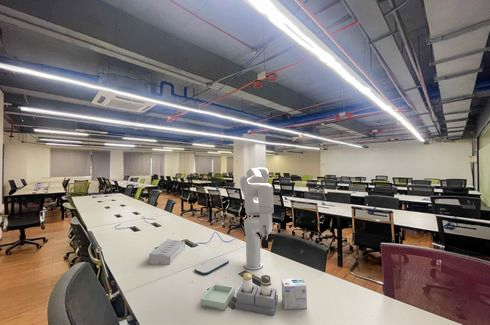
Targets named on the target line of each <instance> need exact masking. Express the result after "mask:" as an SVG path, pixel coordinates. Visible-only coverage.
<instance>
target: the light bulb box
mask: <svg viewBox="0 0 490 325" xmlns="http://www.w3.org/2000/svg"><path fill="white" fill-rule="evenodd" d="M280 281H281V298H282V299H281V301H282V306H283V308H284V310H297V309H298V310H299V309H300V310H301V309H308V302H307V301H308V299H307V298H308V297H307V296H308V295H307V291H308V290H307V284H306V282H305V281H304V279H303V278H300V277H299V278H281V279H280Z"/></svg>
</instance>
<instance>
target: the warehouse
mask: <svg viewBox="0 0 490 325" xmlns="http://www.w3.org/2000/svg"><path fill="white" fill-rule="evenodd" d="M185 248H186V242H185V241H182V240H176V239H175V240H174V239H170V238H169V239H166V240H165V241H164V242H163V243H162V244H160V245H159V246H157V247H156V248H155V249H154V250H153V251H151V252H150V253H149V265H170V266H171V264H172V263H173V262H174V261H175V260H176V258H178V256H179V255H180V254H181V253H182V252H183V251H184V250H185Z"/></svg>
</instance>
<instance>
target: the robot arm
mask: <svg viewBox="0 0 490 325" xmlns="http://www.w3.org/2000/svg"><path fill="white" fill-rule="evenodd" d="M269 178H270V172H269V170H268V169H267V168H266V167H252V168H249V169H248V170H247V171H246V175H243V176H241V177H240V181H239V184H240V188H241V190H242V193H243V197H244V209H245V211H244V212H245V214H246V215H247V216H255V217H248V218H245V220H244V222H243V223H244V224H243V225H244V232H245V256H246V257H245V259H246V260H245V262H244V263H243V266H244V268H246V270H251V271H256V270H260V269H261V268H263V267H264V263H263V262H262V261H261V257H262V256H261V249H267V250H268V249H269V243H272V242H273V234H272V233H273V232H272V230H273V214H274V212H275V210H274V208H275V206H274V187H273V185H272V184H270V182H269V183H268V181H269ZM257 233H259V234H260V236H261V237H260V236H259V235H258V234H257ZM260 238H261V239H260Z"/></svg>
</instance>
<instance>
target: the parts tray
mask: <svg viewBox="0 0 490 325" xmlns="http://www.w3.org/2000/svg"><path fill="white" fill-rule="evenodd" d="M235 295H236V287H235V286H232V285H227V284H219V283H213V284H212V285H211V286H210V287H209V288H208V290H207V291H206V292H205V293H204V295H202V297H201V298H200V306H201V307H202V308H207V309H213V310H218V311H222V312H225V311H226V309H227V308H228V305H229V304H230V303H231V301H232V299H233V298H234V296H235Z"/></svg>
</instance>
